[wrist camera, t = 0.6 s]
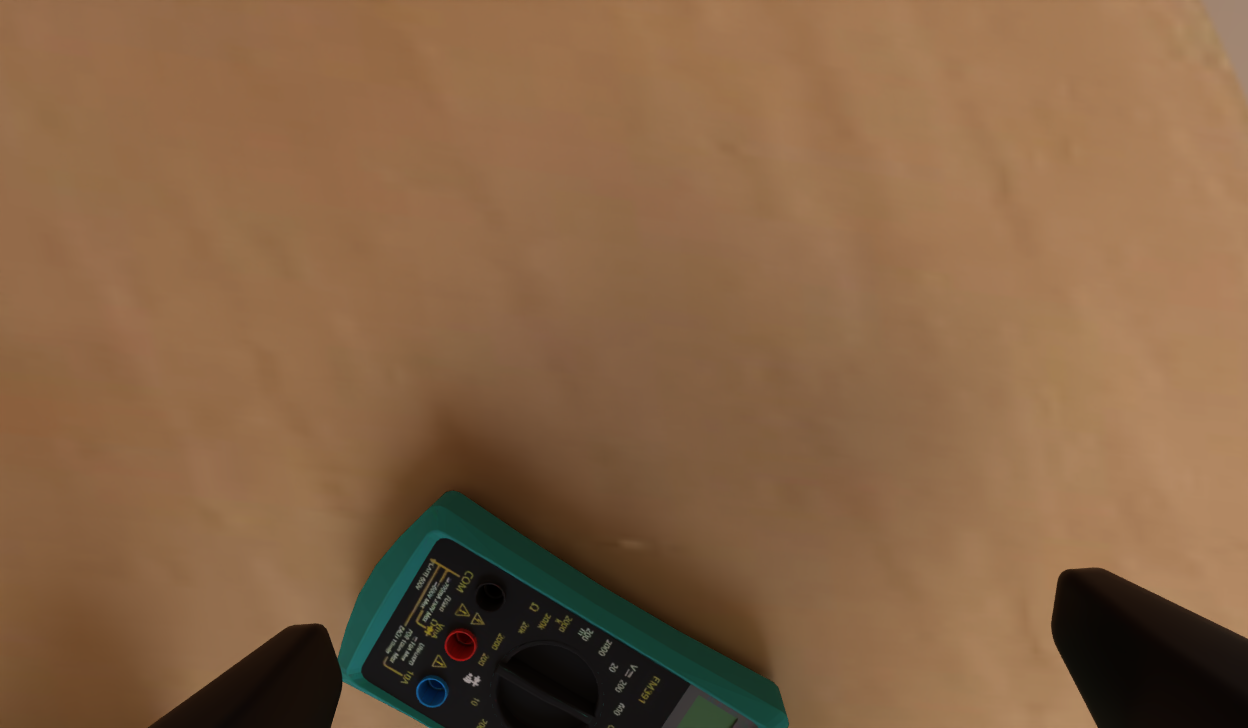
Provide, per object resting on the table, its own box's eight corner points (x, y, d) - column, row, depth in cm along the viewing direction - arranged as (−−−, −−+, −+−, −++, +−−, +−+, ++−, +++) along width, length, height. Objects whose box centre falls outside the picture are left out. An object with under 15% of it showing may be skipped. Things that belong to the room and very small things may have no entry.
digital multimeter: (441, 473, 24) (411, 498, 21) (787, 682, 24) (804, 735, 22) (347, 632, 25) (306, 678, 22) (681, 832, 25) (684, 904, 22)
